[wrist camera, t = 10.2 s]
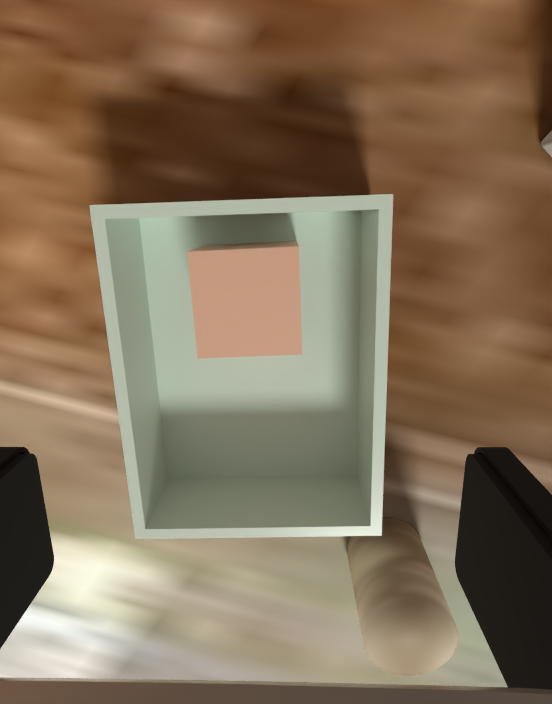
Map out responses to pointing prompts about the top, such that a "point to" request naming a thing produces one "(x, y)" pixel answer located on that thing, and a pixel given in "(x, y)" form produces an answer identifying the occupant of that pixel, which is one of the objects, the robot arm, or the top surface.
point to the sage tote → (250, 372)
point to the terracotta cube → (246, 299)
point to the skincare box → (547, 143)
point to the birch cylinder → (400, 601)
